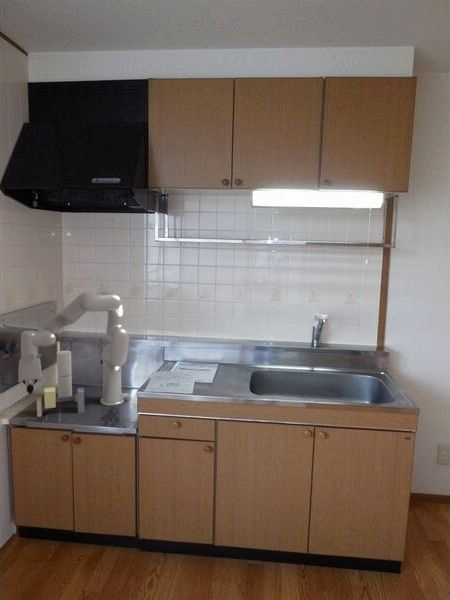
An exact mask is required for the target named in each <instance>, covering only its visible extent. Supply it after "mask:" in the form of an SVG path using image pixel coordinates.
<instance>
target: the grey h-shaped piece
mask: <svg viewBox="0 0 450 600" xmlns="http://www.w3.org/2000/svg"><path fill="white" fill-rule="evenodd" d="M76 389H77V393H75V394H74V395H72V396H64V397H58V396H56V398H55V399H56V403H58V402H59V403H60V402H61V403H62V402H69V401H70V402H71V401H74V402H75V403H77V413H78V414H82V413H85V390H84V387H78V388H76ZM43 404H45V400H44V397H40V396H39V397H37V398H36V415H37V416H36V417H38V418H39V417H43Z"/></svg>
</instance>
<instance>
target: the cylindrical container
mask: <svg viewBox="0 0 450 600" xmlns="http://www.w3.org/2000/svg"><path fill="white" fill-rule="evenodd" d="M56 355H57V356H56V360H57V361H56V363H57V397H64V396H73V383H72V381H73V380H72V379H73V377H72V374H73V373H72V351H70V350H60V351H59V350H58V351H57V352H56Z"/></svg>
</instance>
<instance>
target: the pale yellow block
mask: <svg viewBox="0 0 450 600" xmlns="http://www.w3.org/2000/svg"><path fill="white" fill-rule="evenodd" d="M43 392H44V394H43V395H44V396H43V398H44V400H45V403H44V409H54V408H56V407H57V404H56V403H57V402H56V399H55V398H56V397H57V396H56V393H57V392H56V387H54V386H53V387H45V388H44V391H43Z"/></svg>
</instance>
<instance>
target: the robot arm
mask: <svg viewBox="0 0 450 600" xmlns="http://www.w3.org/2000/svg"><path fill="white" fill-rule="evenodd" d="M121 299H122V298H121V297H120V296H119V295H118V294H116V293H114V292H112V291H109V290H104V291H102V292H101V293H100V294H93V293H90V292H87V291H83V292H81V293H80V294H79V295H77V296H76V298H74V299H73V300H72V301H71V302H70V303H69V304H68V305H67V306H66V307H65V308H63V310H61V311H59V312H58V313H57V314H55V315H53V316H52V317H51V318H49V319H48V320H47V321H46V322H45V323H44V324H43V325H41V327H39V328H38V330H37V331H36V330H25V331H22V332H21V334H20V350H21V351H20V355H21V356H20V357H21V358H19V361H18V376H17V377H18V378H17V382H18V383H23V384H24V385H25V386H26V392H27V394H28V395H30V394H31V395H32V394H33V392H34V388H35V387H34V385H35V384H36V383H38V382H41V381H43V378H42V363H41V358H40V357H42V353H39V347H51V346H53V345H54V344H55V343H56V341H57V337H56V333H58V332H59V331H60V330H61V329H63V328H64V327H67V326H70V325H73V324H75V323H76V322H78V320H80V318H82V316H84V315H85V314H86V313H87V312H93V313H94V312H95V313H96V312H107V323H106V330H105V331H106V332H105V337H106V339H107V340H108V341H109V342H110V343H107V344H105V346H104V347H103V348H102V351H101V359H102V378H103V379H102V381H103V383H102V385H103V386H102V387H103V388H102V389H103V391H102V392H103V393H102V394H103V397H101V398H100V404H102V405H103V406H110V407H111V406H118V405H122V404H123V403H125V399H126V398H131V394H130V393H128V392H125V393H124V392H123V391H122V370H123V369H122V366H123V365H124V364H125V363H126V362H127V358H128V356H129V355H128V354H129V347H130V346H129V344H130V335H129V332H128V330H127V329H126V328H124V326H125V308H124V305H123V303H122V300H121ZM29 381H31V383H30V382H29Z"/></svg>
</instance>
